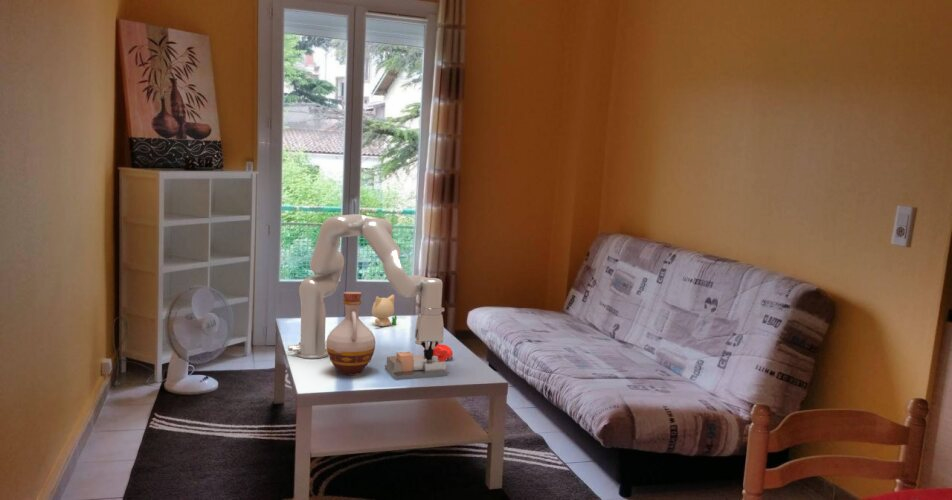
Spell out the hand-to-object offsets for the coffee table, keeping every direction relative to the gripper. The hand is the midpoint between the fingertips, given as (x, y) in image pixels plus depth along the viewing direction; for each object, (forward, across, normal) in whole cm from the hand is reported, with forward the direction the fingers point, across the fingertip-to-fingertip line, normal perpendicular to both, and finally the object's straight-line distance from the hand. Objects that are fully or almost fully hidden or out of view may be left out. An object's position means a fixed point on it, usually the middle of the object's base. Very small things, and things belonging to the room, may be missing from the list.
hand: (428, 358), depth 268 cm
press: (+5, +5, 0) cm, 7 cm away
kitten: (+6, -5, -76) cm, 76 cm away
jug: (+5, +28, -6) cm, 29 cm away
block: (+3, +9, 0) cm, 10 cm away
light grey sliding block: (+3, +4, 0) cm, 5 cm away
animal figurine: (+5, -11, -18) cm, 22 cm away
